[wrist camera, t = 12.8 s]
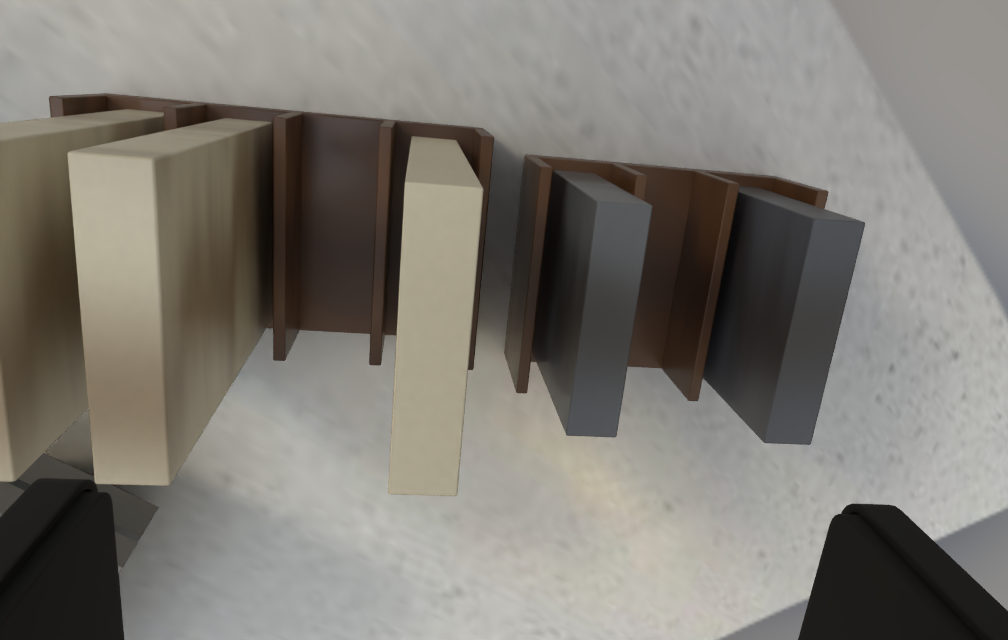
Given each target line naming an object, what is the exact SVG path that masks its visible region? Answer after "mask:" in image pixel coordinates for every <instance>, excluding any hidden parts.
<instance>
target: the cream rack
mask: <svg viewBox="0 0 1008 640" xmlns="http://www.w3.org/2000/svg"><path fill="white" fill-rule="evenodd" d="M49 102H50V113H51V118H43V119H34V120H25V121H16V122H7V123H0V481H1V482H13V481H16V480H17V479H18V478H19V477H20V476H21V475H22V474H23V473H24V472H25V471H26V470H27V469H28V468H29V467H30V466H31V465H32V464H33V463H34V462H35V461H36V460H37V459H38V458H39V457H40V456H41V455H42V454H43V453H44V452H45V451H46V450H47V449H48V448H49V447H50V446H51V445H52V444H53V443H54V442H55V441H56V440H57V439H58V438H59V437H60V436H61V435H62V434H63V433H64V432H65V431H66V430H67V429H68V428H69V427H70V426H71V425H72V424H73V423H74V422H75V421H76V420H77V419H78V418H79V417H80V416H81V415H82V414H83V413H84V412H85V411H86V410H87V409H88V408H89V419H90V431H91V443H92V455H93V467H94V479H95V483H96V484H117V485H155V486H168V485H170V484H171V483H172V481H173V479H174V478H175V476H176V474H177V473H178V471H179V470H180V468H181V466H182V465H183V463H184V461H185V460H186V458H187V457H188V455H189V453H190V452H191V450H192V448H193V447H194V445H195V444H196V442H197V440H198V439H199V437H200V435H201V434H202V432H203V430H204V429H205V427H206V426H207V424H208V422H209V421H210V419H211V417H212V416H213V414H214V413H215V411H216V409H217V408H218V406H219V404H220V403H221V401H222V400H223V398H224V396H225V395H226V393H227V391H228V390H229V388H230V386H231V385H232V383H233V382H234V380H235V378H236V377H237V375H238V373H239V372H240V370H241V369H242V367H243V365H244V364H245V362H246V360H247V359H248V357H249V356H250V354H251V352H252V351H253V349H254V347H255V346H256V344H257V343H258V341H259V339H260V338H261V336H262V334H263V333H264V331H265V329H266V328H273V359H274V360H278V361H285V360H286V357H287V355H288V353H289V351H290V349H291V347H292V345H293V343H294V341H295V339H296V337H297V334H298V332H299V330H310V331H328V332H347V333H365V334H370V357H369V364H370V365H381V361H382V353H383V346H384V339H385V335H397V319H398V300H399V281H400V263H401V244H402V225H403V207H404V188H405V178H406V171H407V165H408V158H409V151H410V145H411V138H412V136H415V137H427V138H438V139H449V140H456V141H457V143H458V144H459V146H460V148H461V150H462V152H463V153H464V155H465V157H466V159H467V161H468V162H469V164H470V166H471V168H472V169H473V171H474V173H475V175H476V177H477V178H478V180H479V182H480V184H481V185H482V187H483V201H482V212H481V224H480V236H479V247H478V259H477V270H476V282H475V294H474V305H473V317H472V328H471V340H470V352H469V363H468V370H473V367H474V356H475V345H476V333H477V322H478V311H479V300H480V288H481V277H482V266H483V255H484V243H485V232H486V221H487V210H488V198H489V187H490V176H491V165H492V153H493V142H494V137H493V136H492V135H491V134H489V133H488V132H487V131H486V130H484V129H483V128H475V127H464V126H453V125H442V124H432V123H421V122H410V121H399V120H388V119H377V118H366V117H356V116H345V115H334V114H323V113H312V112H301V111H291V110H280V109H269V108H258V107H247V106H236V105H225V104H215V103H204V102H193V101H182V100H171V99H160V98H149V97H139V96H128V95H117V94H106V93H103V94H82V95H63V96H50V97H49Z"/></svg>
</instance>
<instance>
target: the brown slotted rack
mask: <svg viewBox="0 0 1008 640" xmlns="http://www.w3.org/2000/svg"><path fill="white" fill-rule="evenodd" d="M827 196H828V191H826V190H822V189H819V188H815V187H812V186H808V185H804V184H801V183H797V182H794V181H790V180H787V179H783V178H779V177H776V176H766V175H755V174H744V173H732V172H721V171H710V170H698V169H687V168H676V167H664V166H653V165H642V164H630V163H619V162H608V161H596V160H585V159H574V158H562V157H551V156H539V155H528V154H525V156H524V165H523V175H522V185H521V195H520V205H519V214H518V224H517V234H516V244H515V254H514V263H513V273H512V283H511V293H510V303H509V313H508V322H507V332H506V342H505V352H504V353H505V357H506V360H507V363H508V366H509V370H510V373H511V376H512V380H513V383H514V386H515V389H516V393H527V390H528V381H529V372H530V363H531V362H537V364H538V366H539V369H540V371H541V374H542V376H543V379H544V381H545V384H546V386H547V389H548V391H549V393H550V396H551V398H552V401H553V403H554V406H555V408H556V411H557V413H558V416H559V418H560V421H561V423H562V425H563V428H564V430H565V433H566V435H568V436H595V437H616V436H617V430H618V423H619V417H620V410H621V404H622V398H623V391H624V385H625V379H626V372H627V366H629V367H648V368H662V369H663V371H664V372H665V373H666V374H667V375H668V377H669V378H670V379H671V380H672V381H673V383H674V384H675V385H676V386H677V388H678V389H679V390H680V391H681V392H682V394H683V395H684V396H685V397H686V398H687V400H689V401H698V399H699V393H700V388H701V383H702V378H704V379H705V380H706V381H707V382H708V384H709V385H710V386H711V387H712V388H713V389H714V390H715V391H716V392H717V393H718V394H719V395H720V396H721V397H722V398H723V400H724V401H725V402H726V403H727V404H728V405H729V406H730V407H731V408H732V409H733V410H734V411H735V412H736V413H737V414H738V416H739V417H740V418H741V419H742V420H743V421H744V422H745V423H746V424H747V425H748V426H749V427H750V428H751V429H752V430H753V431H754V433H755V434H756V435H757V436H758V437H759V438H760V439H761V440H762V441H763V442H764V443H778V444H805V445H810V444H811V441H812V437H813V433H814V429H815V425H816V421H817V417H818V413H819V409H820V405H821V400H822V396H823V392H824V388H825V384H826V380H827V376H828V372H829V368H830V364H831V360H832V356H833V352H834V348H835V344H836V340H837V336H838V332H839V328H840V324H841V319H842V315H843V311H844V307H845V303H846V299H847V295H848V291H849V287H850V283H851V279H852V275H853V271H854V267H855V263H856V259H857V255H858V251H859V247H860V243H861V239H862V234H863V230H864V226H865V223H864V222H862V221H859V220H856V219H853V218H850V217H847V216H844V215H840V214H837V213H834V212H831V211H828V210H825V204H826V200H827Z"/></svg>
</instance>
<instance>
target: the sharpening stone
mask: <svg viewBox="0 0 1008 640" xmlns="http://www.w3.org/2000/svg"><path fill="white" fill-rule="evenodd" d="M40 478H59V479H90V480H92V481H93V482H95V479H94V477H93V476H91V475H89V474H87V473H85V472H83V471H80V470H78V469H76V468H74V467H72V466H70V465H68V464H66V463H63V462H61V461H59V460H57V459H55V458H53V457H51V456H49V455H47V454H44V453H43V454H42V455H41V456H40V457H39V458H38V459H37V460H36V461H35V462H34V463H33V464H32V465H31V466H30V467H29V468H28V469H27V470H26V471H25V472H24V473H23V474H22V475H21V476H20V477H19V478H18V479H17V480H16V481H13V482H1V481H0V517H1V516H2V514H3V513H4V512H5V511H6V510H7V509H8V508H9V507H10V506H11V505H12V504H13V503H14V502H15V501H16V500H17V499H18V498H19V497H20V496H21V495H22V494H23V492H24V491H25V490H26V489H27V488H28V487H29V486H30V485H31V484H32V483H33V482H35V481H36V480H37V479H40ZM95 484H96V483H95ZM96 486H97V489H98V492H107V493H109V494H110V496H111V498H112V504H113V515H114V526H115V538H116V550H117V562H118V573H119V572H120V571H121V569H122V567H123V566H124V564H125V563H126V561H127V559H128V558H129V556H130V554H131V553H132V551H133V549H134V548H135V546H136V544H137V543H138V540H139V539H140V537H141V535H142V534H143V532H144V531H145V529H146V527H147V526H148V524H149V522H150V521H151V519H152V517H153V516H154V514H155V512H156V511H157V509H158V508H159V507H157V506H154V505H152V504H150V503H148V502H146V501H144V500H142V499H140V498H138V497H135V496H133V495H131V494H129V493H127V492H125V491H123V490H121V489H118V488H116V487H114V486H112V485H110V484H96Z"/></svg>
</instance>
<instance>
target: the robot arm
mask: <svg viewBox="0 0 1008 640" xmlns="http://www.w3.org/2000/svg"><path fill="white" fill-rule="evenodd" d="M0 640H124V632H123V620H122V609H121V597H120V585H119V573H118V562H117V550H116V538H115V526H114V515H113V504H112V498H111V496H110V494H109V493H107V492H98V489H97V486H96V484H95V482H93V481H92V480H90V479H59V478H40V479H37V480H36V481H35V482H33V483H32V484H31V485H30V486H29V487H28V488H27V489H26V490H25V491H24V492H23V494H22V495H21V496H20V497H19V498H18V499H17V500H16V501H15V502H14V503H13V504H12V505H11V506H10V507H9V508H8V509H7V510H6V511H5V512H4V513H3V514H2V516H1V517H0ZM798 640H1008V611H1007V610H1006V609H1005V608H1004V607H1003V606H1002V605H1001V604H1000V603H999V602H997V600H995V599H994V598H993V597H992V596H991V595H990V594H989V593H988V592H987V591H986V590H985V589H984V588H983V587H982V586H981V585H980V584H978V583H977V582H976V581H975V580H974V579H973V578H972V577H971V576H970V575H969V574H968V573H967V572H966V571H965V570H964V569H963V568H961V566H959V565H958V564H957V563H956V562H955V561H954V560H953V559H952V558H951V557H950V556H949V555H948V554H947V553H946V552H945V551H944V550H943V549H941V548H940V547H939V546H938V545H937V544H936V543H935V542H934V541H933V540H932V539H931V538H930V537H929V536H928V535H927V534H926V533H925V532H923V531H922V530H921V529H920V528H919V527H918V526H917V525H916V524H915V523H914V522H913V521H912V520H911V519H910V518H909V517H908V516H907V515H905V514H904V513H903V512H902V511H901V510H900V509H898V508H897V507H895V506H892V505H878V504H850V505H848V506H846V507H845V509H844V510H843V511H842V513H841V514H838V515H835V516H834V518H833V519H832V521H831V523H830V526H829V530H828V533H827V537H826V540H825V544H824V548H823V551H822V555H821V559H820V562H819V566H818V569H817V573H816V577H815V580H814V584H813V588H812V591H811V595H810V599H809V602H808V606H807V610H806V613H805V617H804V621H803V624H802V628H801V631H800V635H799V638H798Z"/></svg>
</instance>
